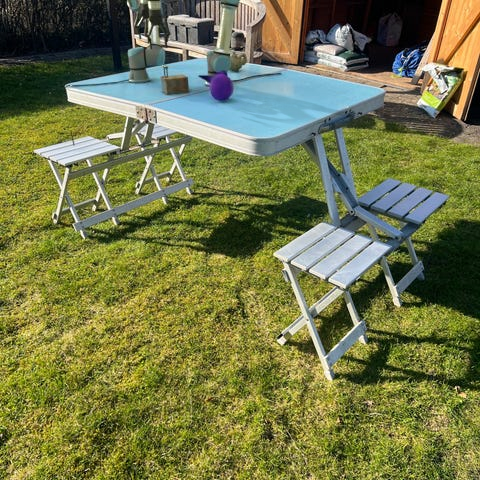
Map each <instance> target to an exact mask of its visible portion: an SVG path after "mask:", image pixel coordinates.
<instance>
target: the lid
mask: <svg viewBox="0 0 480 480" xmlns="http://www.w3.org/2000/svg"><path fill="white" fill-rule="evenodd" d="M162 68H163V76H159V78H160V79H162V80H164V81H170V80H179V79H188V80H189V76H187V75H185V74H173V75H172V74H171V75H169V72H168V69H169V66H167V65H165V64H164V65H162ZM162 80H161V81H162Z"/></svg>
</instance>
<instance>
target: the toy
mask: <svg viewBox="0 0 480 480" xmlns="http://www.w3.org/2000/svg"><path fill="white" fill-rule="evenodd" d="M198 77H199V78H200V79H202V80H204V81H205V82H206V81H208V82H209V83H210V86H209V92H210V95H211V97H212V98H213V99H214V100H217V101H220V102H225V101H227V100H229V99H230V97H232V95H233V94H234V90H235V89H234V82H232V80H233V79H232V78H231V77H229V75H228V71H227V72H226V71H224V70H223V71H220V72H217V74H216V76H210V75H208V74H205V75H204V74H202V75H200V74H199V75H198Z"/></svg>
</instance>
